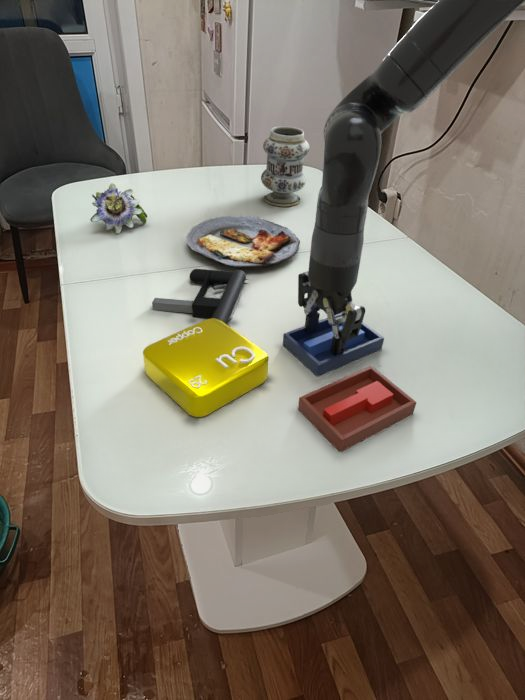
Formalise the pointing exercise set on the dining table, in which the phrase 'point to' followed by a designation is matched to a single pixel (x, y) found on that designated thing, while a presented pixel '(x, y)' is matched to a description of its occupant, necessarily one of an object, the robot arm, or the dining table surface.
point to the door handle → (206, 305)
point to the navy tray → (326, 359)
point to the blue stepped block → (328, 342)
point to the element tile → (205, 366)
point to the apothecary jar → (284, 165)
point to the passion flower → (117, 208)
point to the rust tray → (361, 422)
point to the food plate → (243, 241)
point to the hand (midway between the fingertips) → (323, 342)
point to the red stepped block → (359, 403)
